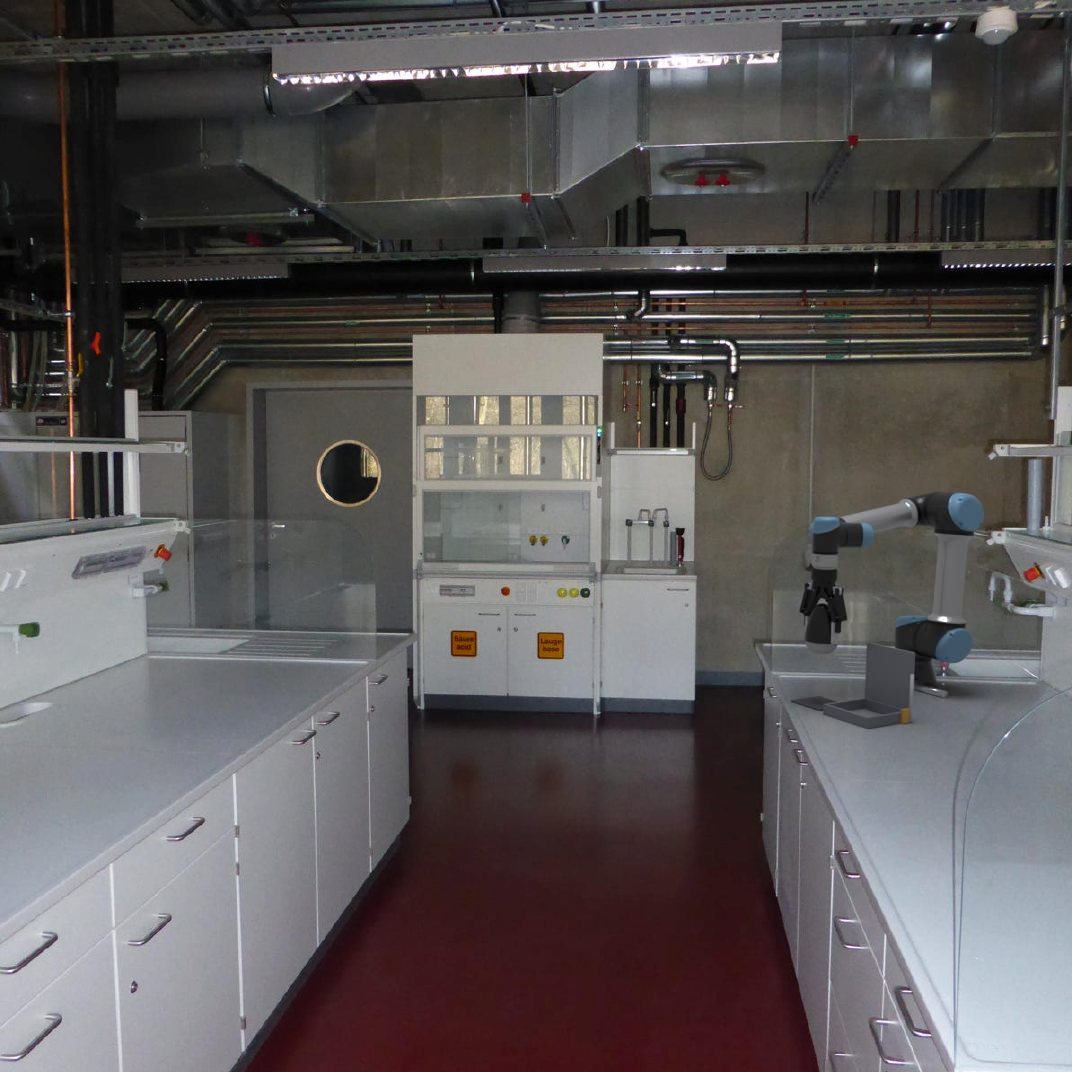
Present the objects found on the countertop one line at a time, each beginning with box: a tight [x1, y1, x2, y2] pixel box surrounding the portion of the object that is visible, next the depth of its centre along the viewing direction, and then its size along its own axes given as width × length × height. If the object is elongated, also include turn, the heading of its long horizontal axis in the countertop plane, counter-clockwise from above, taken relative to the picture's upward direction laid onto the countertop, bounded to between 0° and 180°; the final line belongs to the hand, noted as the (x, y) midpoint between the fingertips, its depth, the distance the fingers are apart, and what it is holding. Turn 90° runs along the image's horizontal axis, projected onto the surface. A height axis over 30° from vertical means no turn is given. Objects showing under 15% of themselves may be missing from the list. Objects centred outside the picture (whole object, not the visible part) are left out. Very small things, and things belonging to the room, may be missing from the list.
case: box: [822, 641, 915, 730], centre depth 277 cm, size 18×18×20 cm
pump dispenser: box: [803, 602, 839, 655], centre depth 291 cm, size 10×10×15 cm
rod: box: [914, 683, 949, 699], centre depth 308 cm, size 12×2×2 cm, turn 28°
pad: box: [790, 695, 838, 712], centre depth 293 cm, size 12×12×1 cm
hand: (821, 640), depth 292 cm, fingers closed on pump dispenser, 10 cm apart
